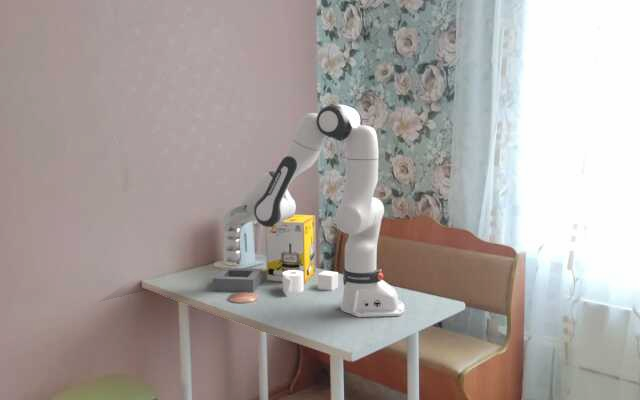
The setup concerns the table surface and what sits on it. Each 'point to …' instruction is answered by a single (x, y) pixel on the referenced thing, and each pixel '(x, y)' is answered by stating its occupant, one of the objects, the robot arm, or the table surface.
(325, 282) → the white cube
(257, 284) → the charcoal collar
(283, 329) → the table surface
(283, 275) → the toilet paper
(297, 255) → the packaging box
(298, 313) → the table surface
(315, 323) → the table surface
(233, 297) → the terracotta coaster
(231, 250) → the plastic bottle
